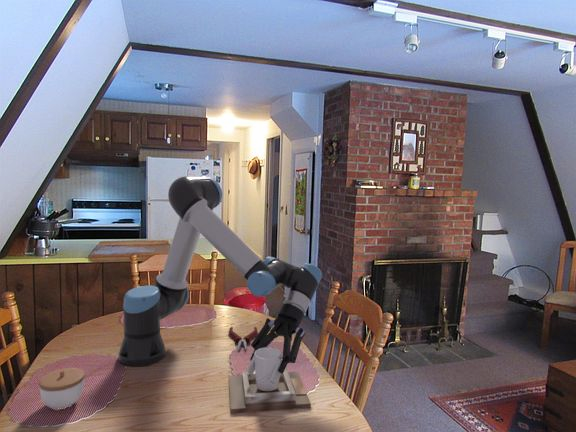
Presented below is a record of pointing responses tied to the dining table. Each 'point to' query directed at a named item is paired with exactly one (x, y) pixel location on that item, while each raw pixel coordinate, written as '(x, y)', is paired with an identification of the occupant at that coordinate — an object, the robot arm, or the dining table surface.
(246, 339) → the pliers
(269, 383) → the white cup
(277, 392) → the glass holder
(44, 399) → the lidded jar
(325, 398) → the dining table surface
